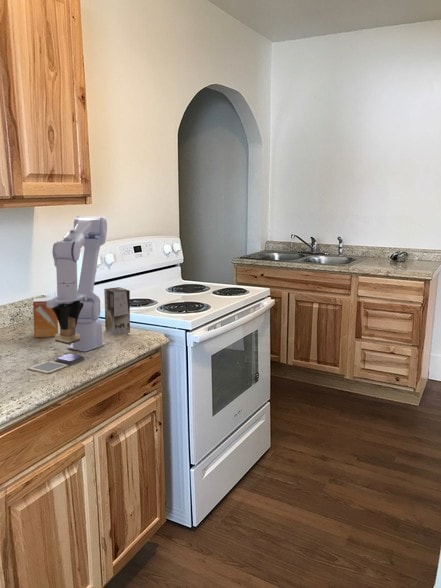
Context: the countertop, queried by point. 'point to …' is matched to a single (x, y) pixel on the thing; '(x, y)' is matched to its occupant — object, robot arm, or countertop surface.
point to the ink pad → (69, 359)
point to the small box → (44, 319)
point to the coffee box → (117, 311)
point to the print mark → (48, 367)
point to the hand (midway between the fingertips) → (68, 327)
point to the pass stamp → (68, 333)
